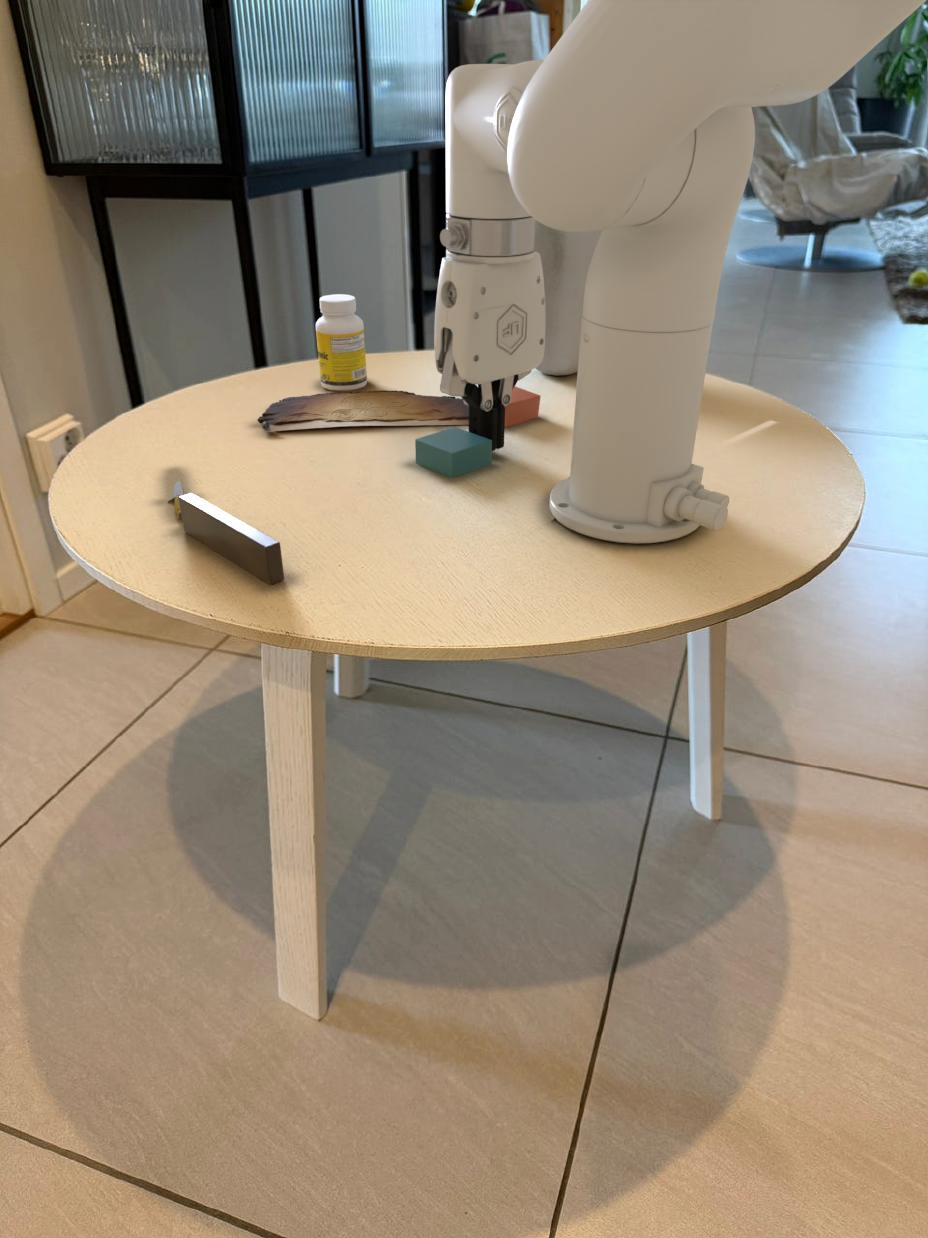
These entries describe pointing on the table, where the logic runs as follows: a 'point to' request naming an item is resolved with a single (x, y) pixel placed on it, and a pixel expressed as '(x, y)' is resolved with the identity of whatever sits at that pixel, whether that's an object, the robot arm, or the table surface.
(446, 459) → the tile
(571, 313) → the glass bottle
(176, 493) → the dagger
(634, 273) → the robot arm
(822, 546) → the table surface
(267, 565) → the stop bar
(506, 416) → the tile
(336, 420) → the parchment
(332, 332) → the supplement bottle
